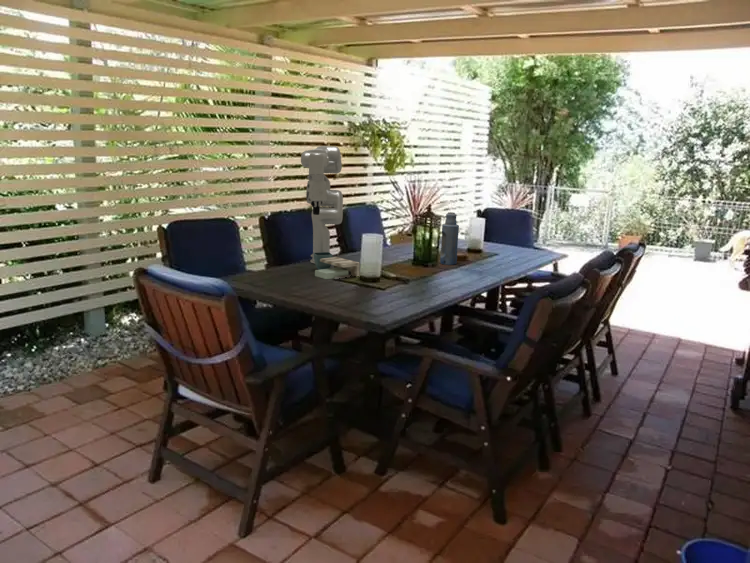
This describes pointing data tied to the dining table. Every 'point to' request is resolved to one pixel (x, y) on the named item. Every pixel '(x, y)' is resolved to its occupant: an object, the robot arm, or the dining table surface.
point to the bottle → (449, 240)
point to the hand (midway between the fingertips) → (316, 214)
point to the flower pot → (319, 256)
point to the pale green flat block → (330, 273)
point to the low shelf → (343, 265)
